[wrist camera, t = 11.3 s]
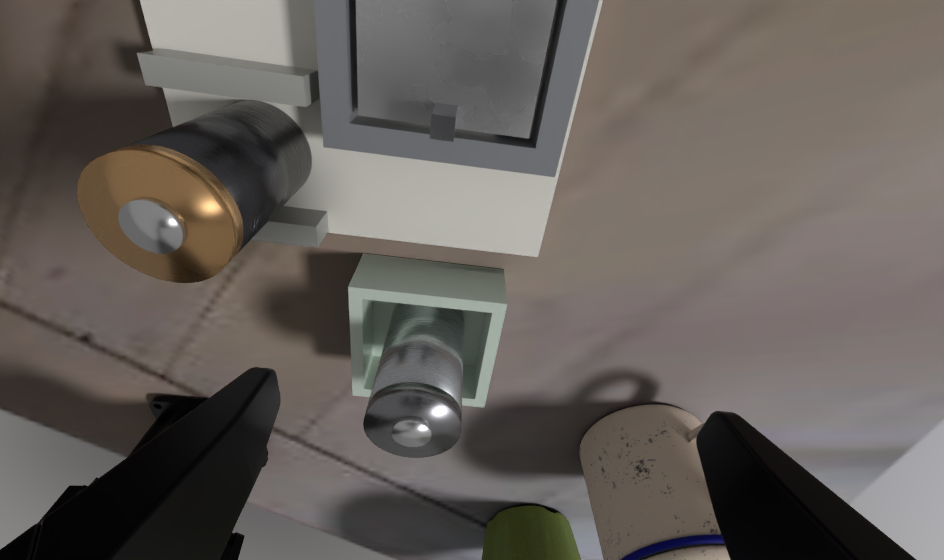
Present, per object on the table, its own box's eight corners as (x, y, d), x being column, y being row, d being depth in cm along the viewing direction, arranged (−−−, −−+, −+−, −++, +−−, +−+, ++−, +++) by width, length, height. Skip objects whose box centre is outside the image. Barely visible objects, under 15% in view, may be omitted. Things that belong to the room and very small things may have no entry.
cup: (364, 356, 25) (352, 395, 22) (363, 253, 21) (348, 286, 18) (483, 367, 25) (484, 407, 23) (503, 269, 21) (507, 304, 19)
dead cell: (390, 345, 24) (362, 460, 18) (392, 288, 22) (360, 397, 16) (460, 351, 24) (455, 467, 18) (468, 296, 22) (466, 407, 16)
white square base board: (205, 209, 20) (170, 236, 17) (69, -349, 11) (-36, -440, 9) (535, 249, 21) (543, 278, 19) (654, -231, 12) (695, -285, 10)
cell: (223, 189, 18) (100, 280, 12) (203, 92, 16) (41, 145, 10) (315, 201, 19) (238, 295, 13) (308, 107, 16) (210, 167, 10)
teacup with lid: (654, 488, 33) (730, 692, 23) (552, 462, 31) (587, 672, 21) (767, 392, 26) (935, 615, 17) (647, 352, 25) (759, 578, 15)
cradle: (362, 110, 16) (345, 127, 14) (359, -115, 12) (335, -140, 10) (526, 133, 16) (534, 152, 14) (568, -78, 13) (587, -95, 11)
